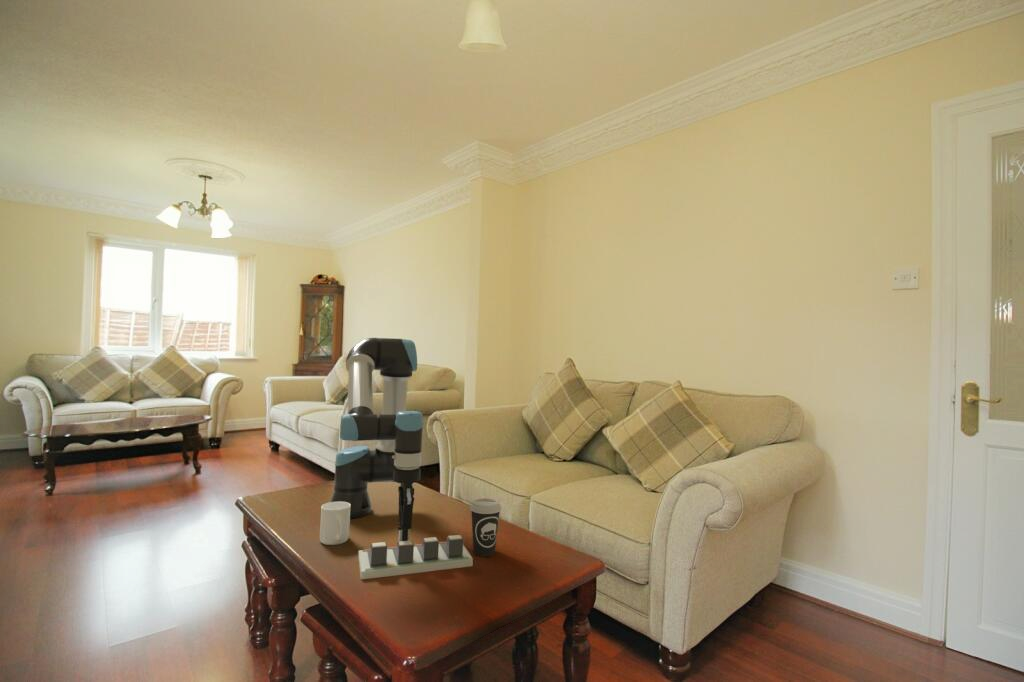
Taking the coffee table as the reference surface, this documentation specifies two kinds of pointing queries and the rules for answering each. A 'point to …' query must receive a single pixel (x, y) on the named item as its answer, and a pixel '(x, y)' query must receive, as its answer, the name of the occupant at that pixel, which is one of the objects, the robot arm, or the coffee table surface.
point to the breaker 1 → (378, 553)
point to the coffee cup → (485, 525)
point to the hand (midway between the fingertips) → (403, 551)
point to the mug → (335, 523)
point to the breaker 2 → (405, 551)
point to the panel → (411, 567)
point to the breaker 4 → (454, 545)
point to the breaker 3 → (430, 548)
